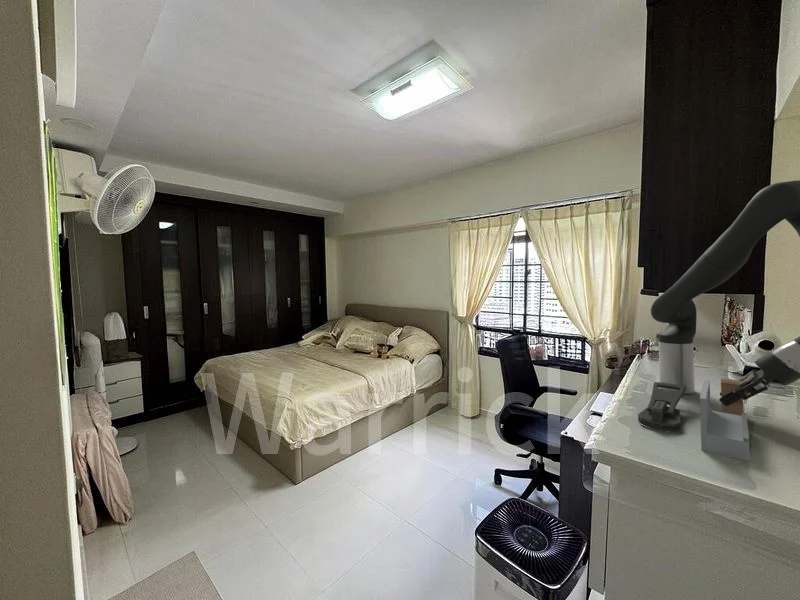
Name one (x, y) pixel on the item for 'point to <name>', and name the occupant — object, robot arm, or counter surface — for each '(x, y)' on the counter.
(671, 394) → the zipper pull
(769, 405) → the counter surface
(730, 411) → the cabinet
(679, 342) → the robot arm
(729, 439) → the board
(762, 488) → the counter surface
